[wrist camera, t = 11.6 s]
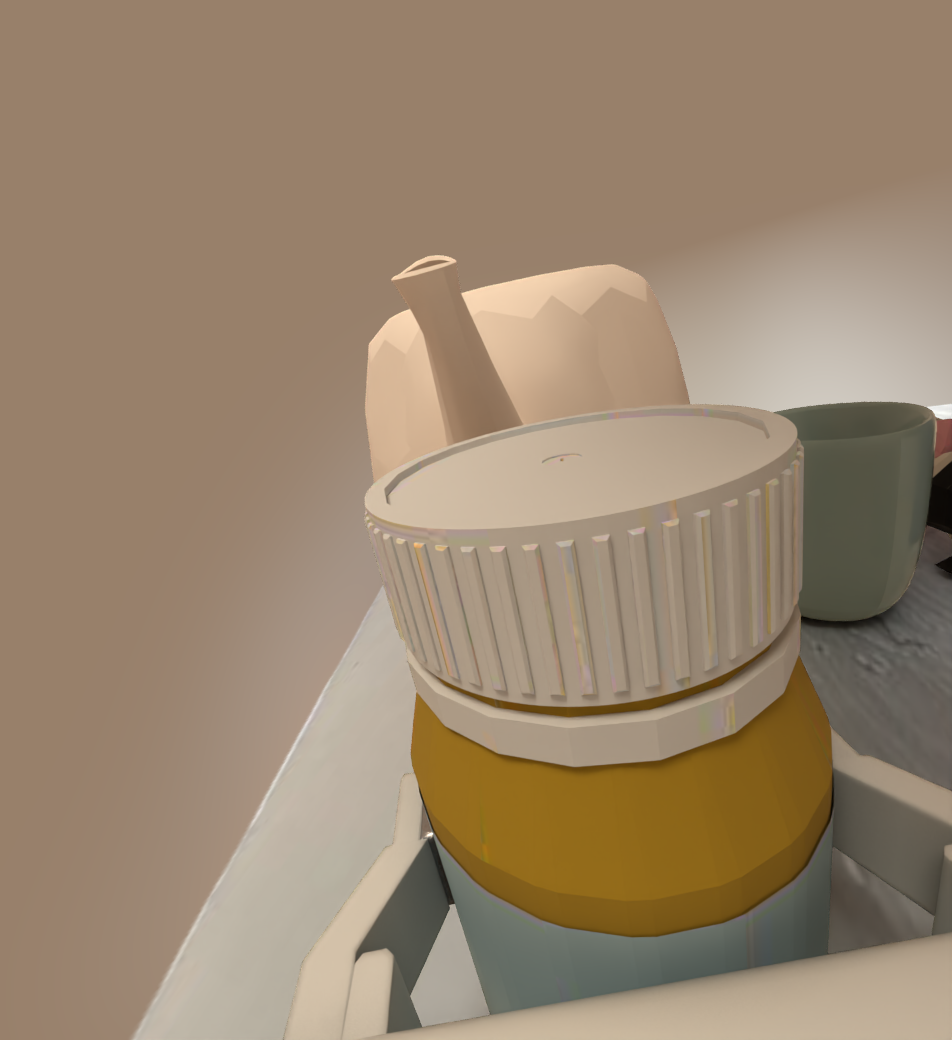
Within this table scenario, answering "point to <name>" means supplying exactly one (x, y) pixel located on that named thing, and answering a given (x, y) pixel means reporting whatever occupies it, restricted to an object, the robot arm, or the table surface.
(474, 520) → the bottle
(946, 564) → the toy
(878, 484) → the cup
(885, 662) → the table surface
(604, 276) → the watering can
